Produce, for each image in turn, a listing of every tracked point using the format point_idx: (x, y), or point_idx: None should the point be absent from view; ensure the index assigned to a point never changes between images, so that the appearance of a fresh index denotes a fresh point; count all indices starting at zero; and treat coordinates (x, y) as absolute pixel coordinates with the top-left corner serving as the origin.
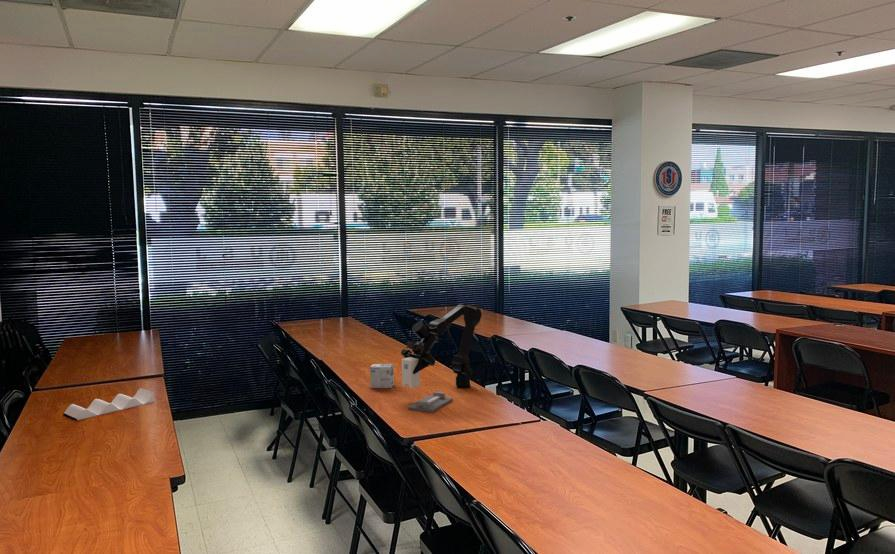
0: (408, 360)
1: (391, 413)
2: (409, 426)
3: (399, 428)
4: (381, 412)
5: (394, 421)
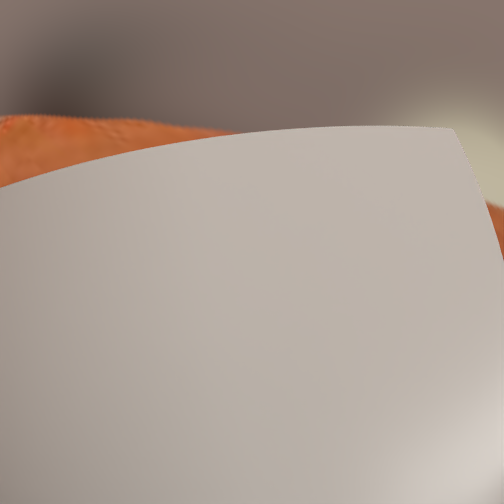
0: (7, 194)
1: None
2: (15, 151)
3: (31, 122)
4: (192, 130)
5: (74, 129)
